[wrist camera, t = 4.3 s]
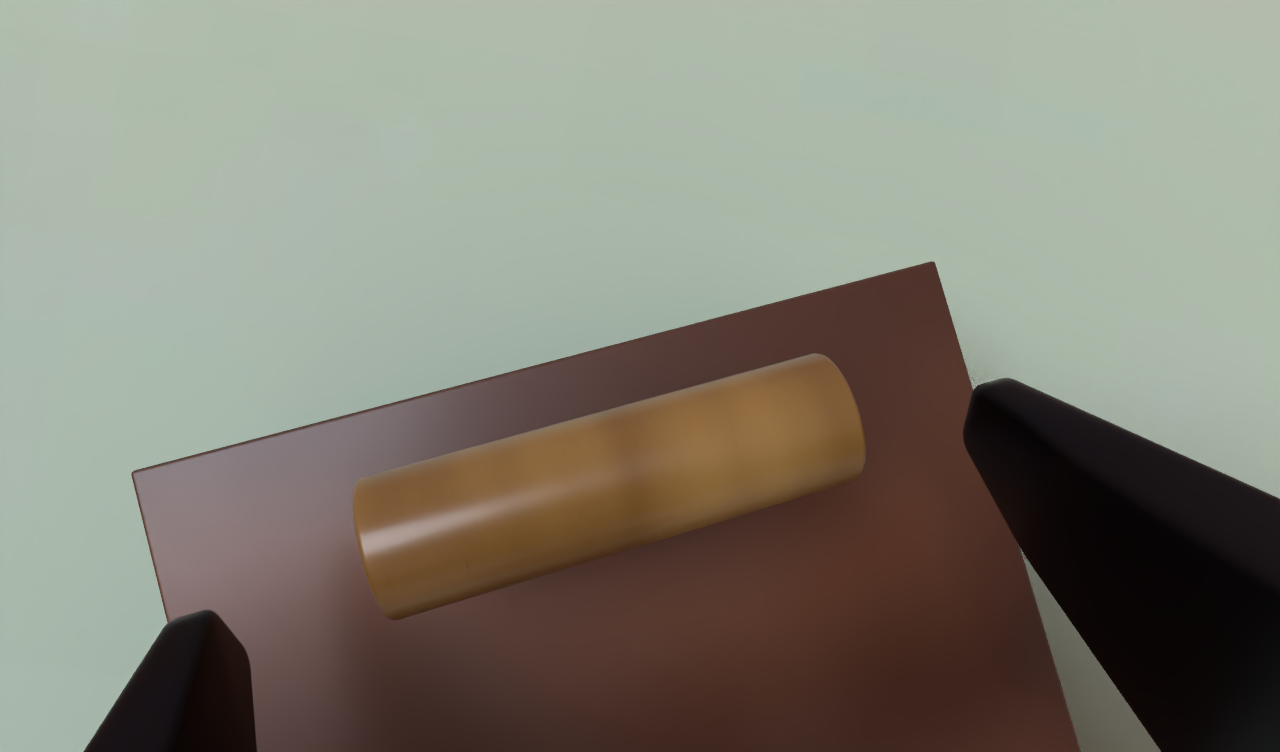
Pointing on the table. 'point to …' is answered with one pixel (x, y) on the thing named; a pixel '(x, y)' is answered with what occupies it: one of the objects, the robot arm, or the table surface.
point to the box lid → (634, 552)
